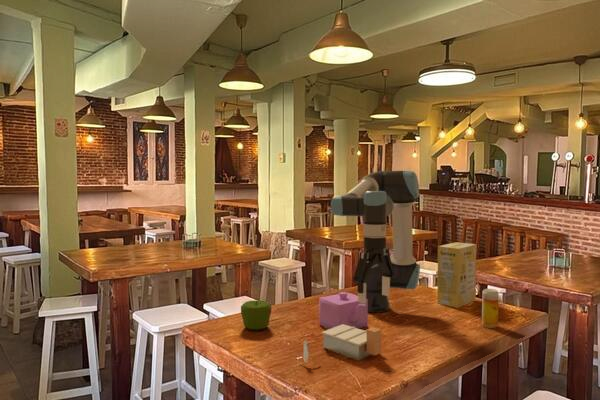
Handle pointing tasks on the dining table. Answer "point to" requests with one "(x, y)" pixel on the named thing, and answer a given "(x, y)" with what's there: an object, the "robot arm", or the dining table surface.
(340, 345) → the grey rectangular box
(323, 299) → the purple knobbed cube
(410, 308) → the dining table surface
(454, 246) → the pasta box
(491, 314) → the beer can
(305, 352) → the stand
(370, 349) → the lid
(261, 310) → the apple
